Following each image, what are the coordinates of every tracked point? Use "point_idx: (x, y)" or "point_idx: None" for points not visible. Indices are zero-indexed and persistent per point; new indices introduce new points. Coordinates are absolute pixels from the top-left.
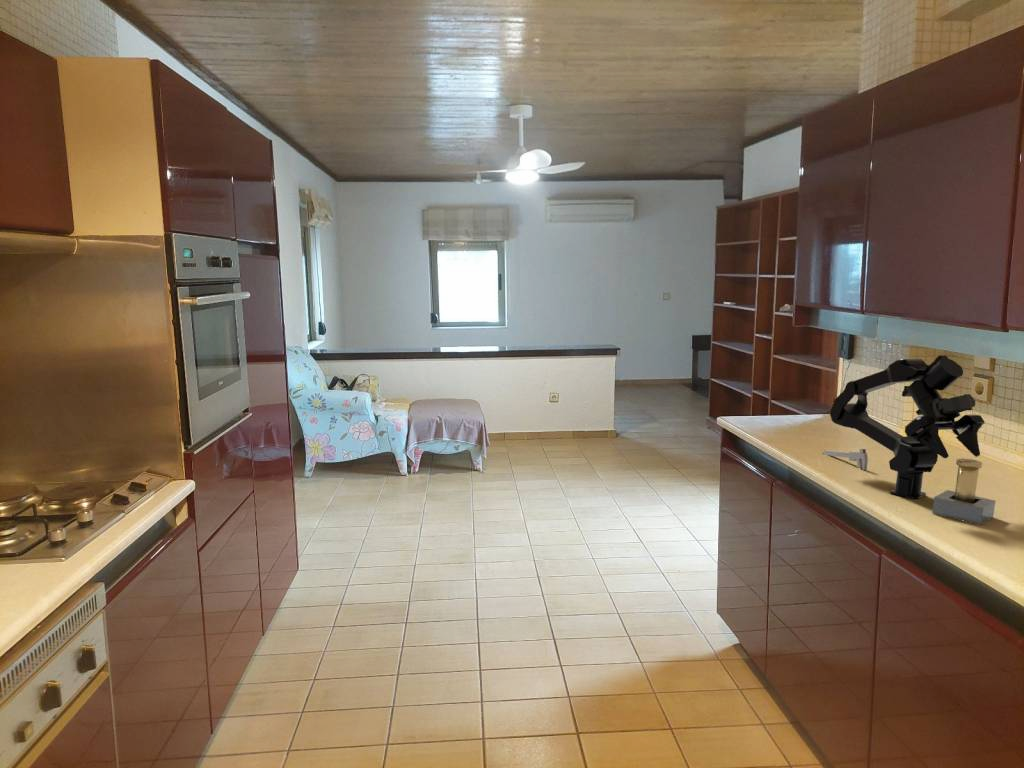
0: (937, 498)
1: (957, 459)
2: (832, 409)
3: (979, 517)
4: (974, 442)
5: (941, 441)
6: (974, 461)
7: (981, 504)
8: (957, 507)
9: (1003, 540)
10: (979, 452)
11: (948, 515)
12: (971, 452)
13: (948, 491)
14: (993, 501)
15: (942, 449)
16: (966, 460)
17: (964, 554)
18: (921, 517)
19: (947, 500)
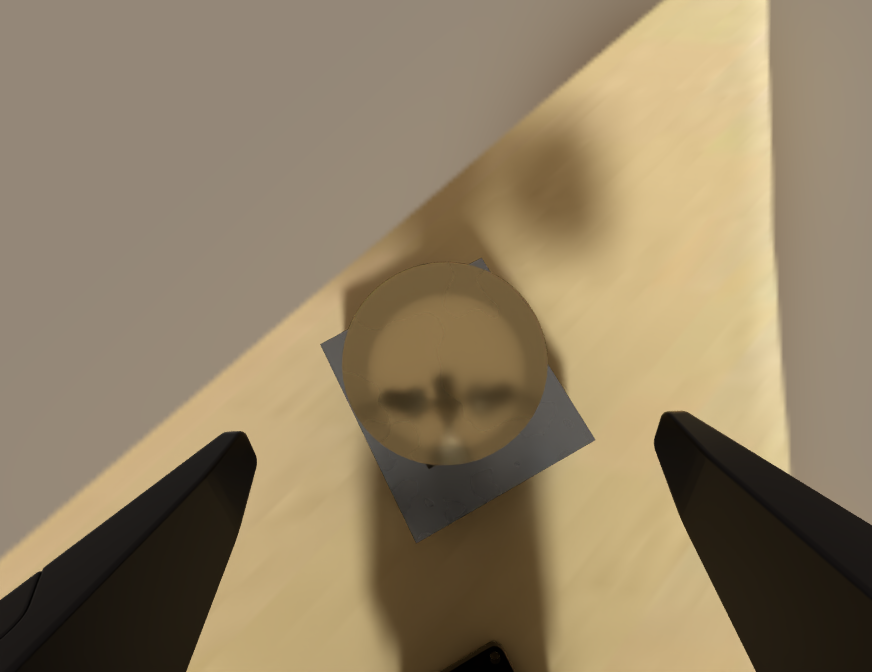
0: (584, 426)
1: (509, 434)
2: None
3: None
4: (129, 554)
5: (861, 571)
6: (400, 343)
7: None
8: None
9: (523, 158)
10: (215, 441)
11: None
12: (235, 531)
13: (432, 518)
14: (343, 333)
15: (771, 474)
16: (446, 387)
17: (755, 79)
18: (656, 401)
19: (560, 384)
